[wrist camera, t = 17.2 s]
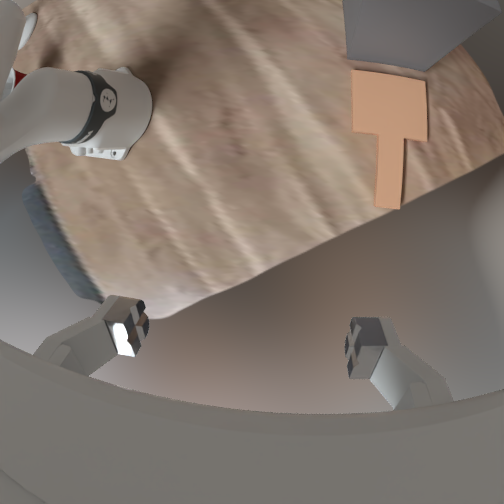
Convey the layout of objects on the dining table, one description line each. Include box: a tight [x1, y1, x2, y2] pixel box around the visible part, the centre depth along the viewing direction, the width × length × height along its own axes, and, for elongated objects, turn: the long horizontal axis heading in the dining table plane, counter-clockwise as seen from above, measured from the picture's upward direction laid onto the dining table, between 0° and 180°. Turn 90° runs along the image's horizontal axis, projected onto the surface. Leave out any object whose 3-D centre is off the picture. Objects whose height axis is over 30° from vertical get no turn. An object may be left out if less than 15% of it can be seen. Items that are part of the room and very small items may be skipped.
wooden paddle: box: [351, 70, 427, 209], centre depth 37 cm, size 12×21×2 cm, turn 179°
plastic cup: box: [0, 67, 26, 102], centre depth 42 cm, size 11×11×12 cm
